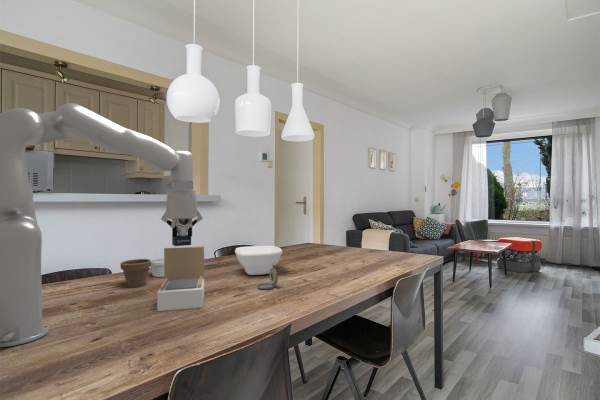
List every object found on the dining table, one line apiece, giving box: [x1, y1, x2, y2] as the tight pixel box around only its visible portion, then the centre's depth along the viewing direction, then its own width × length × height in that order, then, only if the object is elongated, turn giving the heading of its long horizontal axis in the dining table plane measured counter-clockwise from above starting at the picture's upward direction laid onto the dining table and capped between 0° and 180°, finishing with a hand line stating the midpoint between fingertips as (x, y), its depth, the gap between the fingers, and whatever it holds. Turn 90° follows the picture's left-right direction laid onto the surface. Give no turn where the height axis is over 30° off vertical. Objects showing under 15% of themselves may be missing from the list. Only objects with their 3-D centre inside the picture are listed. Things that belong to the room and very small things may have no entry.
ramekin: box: [150, 257, 164, 278], centre depth 156 cm, size 13×13×7 cm
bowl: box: [234, 245, 284, 276], centre depth 157 cm, size 22×22×12 cm
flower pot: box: [119, 258, 152, 288], centre depth 137 cm, size 12×11×10 cm
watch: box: [171, 218, 193, 247], centre depth 116 cm, size 6×8×11 cm
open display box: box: [156, 246, 205, 312], centre depth 116 cm, size 16×14×18 cm
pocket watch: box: [256, 262, 279, 290], centre depth 133 cm, size 8×8×10 cm
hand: (182, 238), depth 116 cm, fingers closed on watch, 3 cm apart
